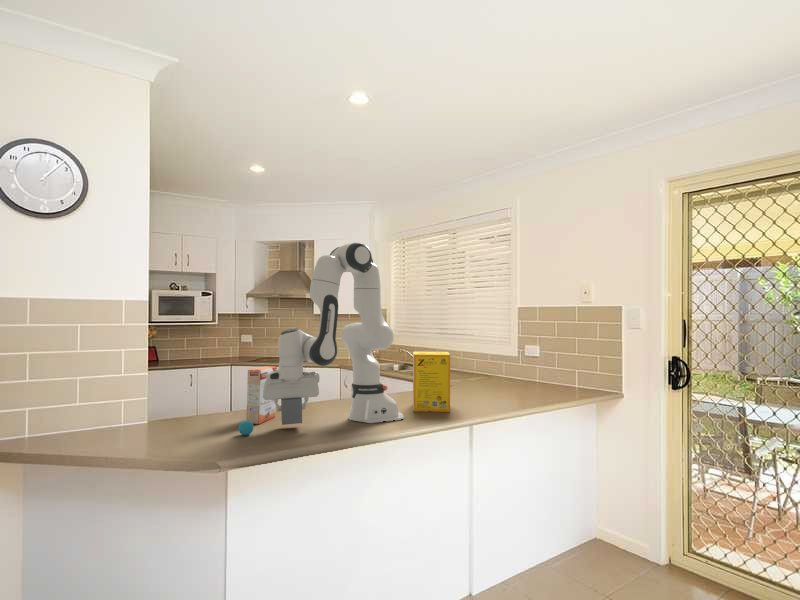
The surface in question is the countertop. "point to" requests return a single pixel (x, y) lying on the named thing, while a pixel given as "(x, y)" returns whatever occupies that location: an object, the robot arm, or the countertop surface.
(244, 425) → the ball
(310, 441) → the countertop surface
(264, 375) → the cracker box
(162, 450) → the countertop surface
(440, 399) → the packaging box
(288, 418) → the gray faceted wedge
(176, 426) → the countertop surface
